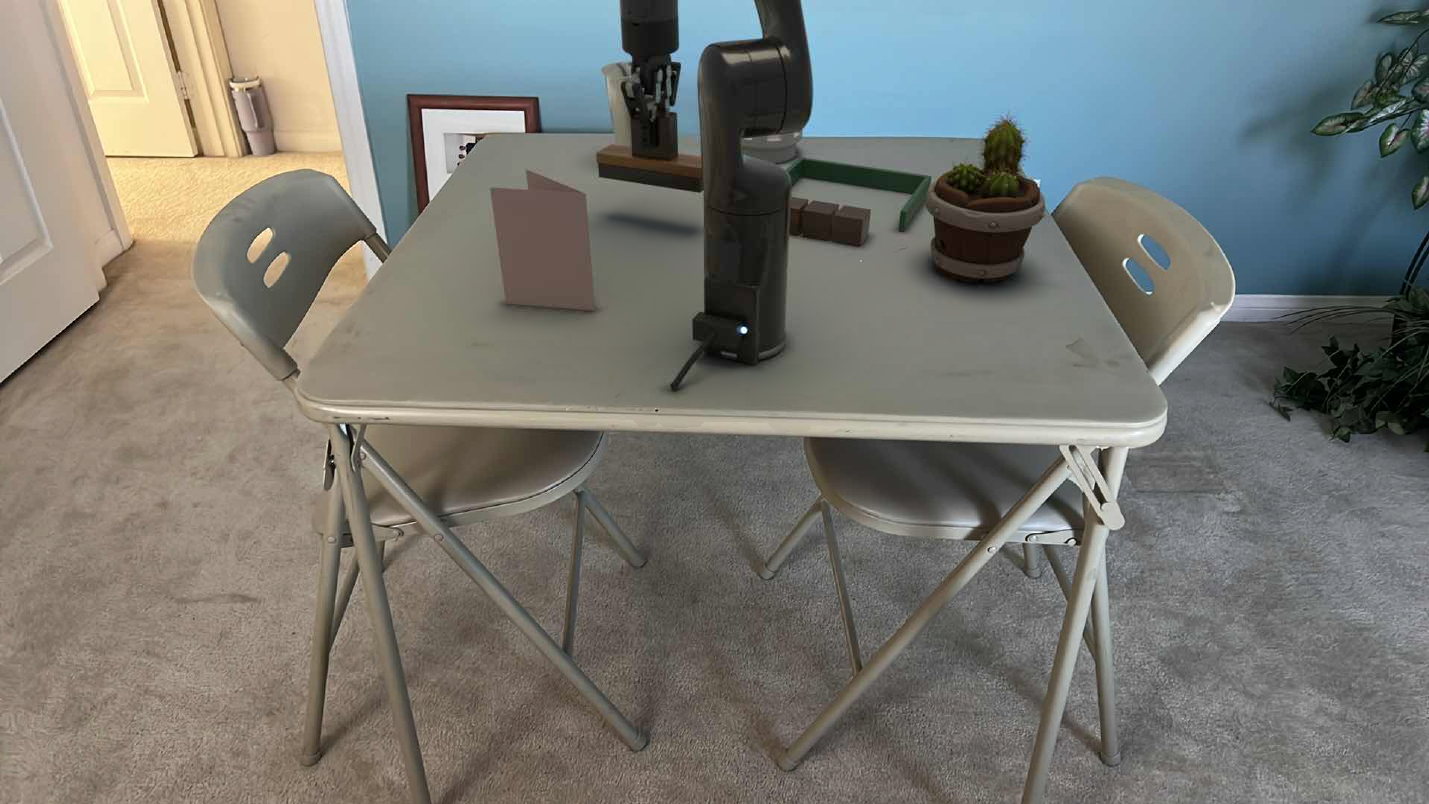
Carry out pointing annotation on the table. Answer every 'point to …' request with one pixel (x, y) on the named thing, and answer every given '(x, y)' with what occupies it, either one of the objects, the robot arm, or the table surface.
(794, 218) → the cube
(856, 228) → the cube
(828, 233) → the cube
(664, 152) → the hand brush
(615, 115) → the glass
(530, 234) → the greeting card
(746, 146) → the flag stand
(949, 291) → the table surface
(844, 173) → the frame
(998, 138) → the flowerpot
